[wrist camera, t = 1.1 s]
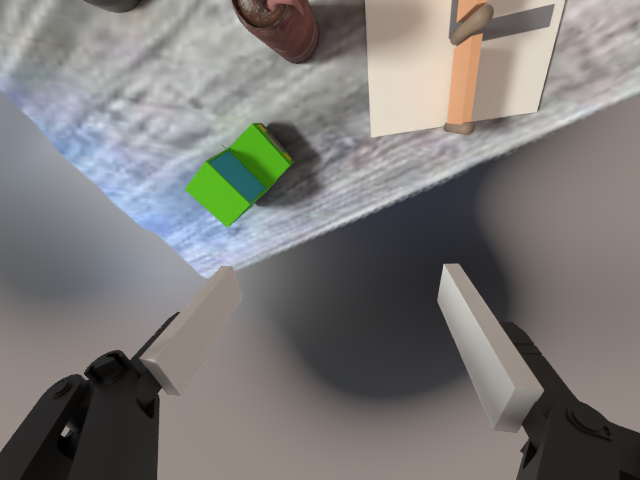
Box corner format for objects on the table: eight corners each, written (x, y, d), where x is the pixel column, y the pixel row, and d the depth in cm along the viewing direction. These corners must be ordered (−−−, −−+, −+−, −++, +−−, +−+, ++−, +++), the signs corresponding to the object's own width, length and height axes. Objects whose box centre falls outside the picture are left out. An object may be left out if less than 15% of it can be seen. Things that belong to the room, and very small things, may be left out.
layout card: (362, -50, 26) (362, -64, 24) (594, -125, 22) (619, -150, 20) (371, 137, 35) (371, 138, 33) (534, 111, 31) (547, 111, 29)
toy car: (303, 164, 39) (287, 178, 30) (256, 209, 45) (232, 232, 36) (259, 114, 36) (228, 114, 28) (215, 169, 42) (178, 184, 33)
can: (318, 67, 32) (294, 38, 20) (275, 60, 32) (226, 28, 20) (324, 9, 29) (301, -67, 17) (277, 2, 29) (220, -77, 17)
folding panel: (450, 50, 29) (473, 33, 23) (462, 47, 28) (489, 30, 23) (443, 132, 33) (460, 135, 27) (453, 130, 33) (473, 134, 27)
